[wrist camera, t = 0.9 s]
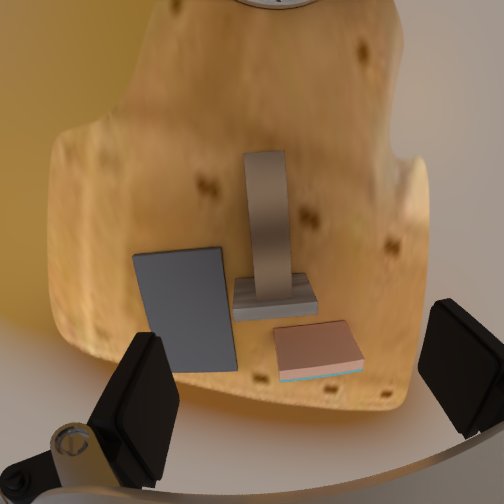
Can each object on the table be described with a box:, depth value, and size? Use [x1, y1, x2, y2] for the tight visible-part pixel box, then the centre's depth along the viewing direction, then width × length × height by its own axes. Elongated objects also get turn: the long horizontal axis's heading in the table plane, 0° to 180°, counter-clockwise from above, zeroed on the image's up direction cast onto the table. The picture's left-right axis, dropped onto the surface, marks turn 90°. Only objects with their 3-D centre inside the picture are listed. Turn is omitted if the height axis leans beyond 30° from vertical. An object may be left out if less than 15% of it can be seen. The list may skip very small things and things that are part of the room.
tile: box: [274, 321, 365, 382], centre depth 28 cm, size 2×8×7 cm, turn 95°
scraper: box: [232, 151, 318, 322], centre depth 25 cm, size 13×7×6 cm, turn 5°
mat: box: [132, 247, 238, 373], centre depth 31 cm, size 15×9×1 cm, turn 5°
